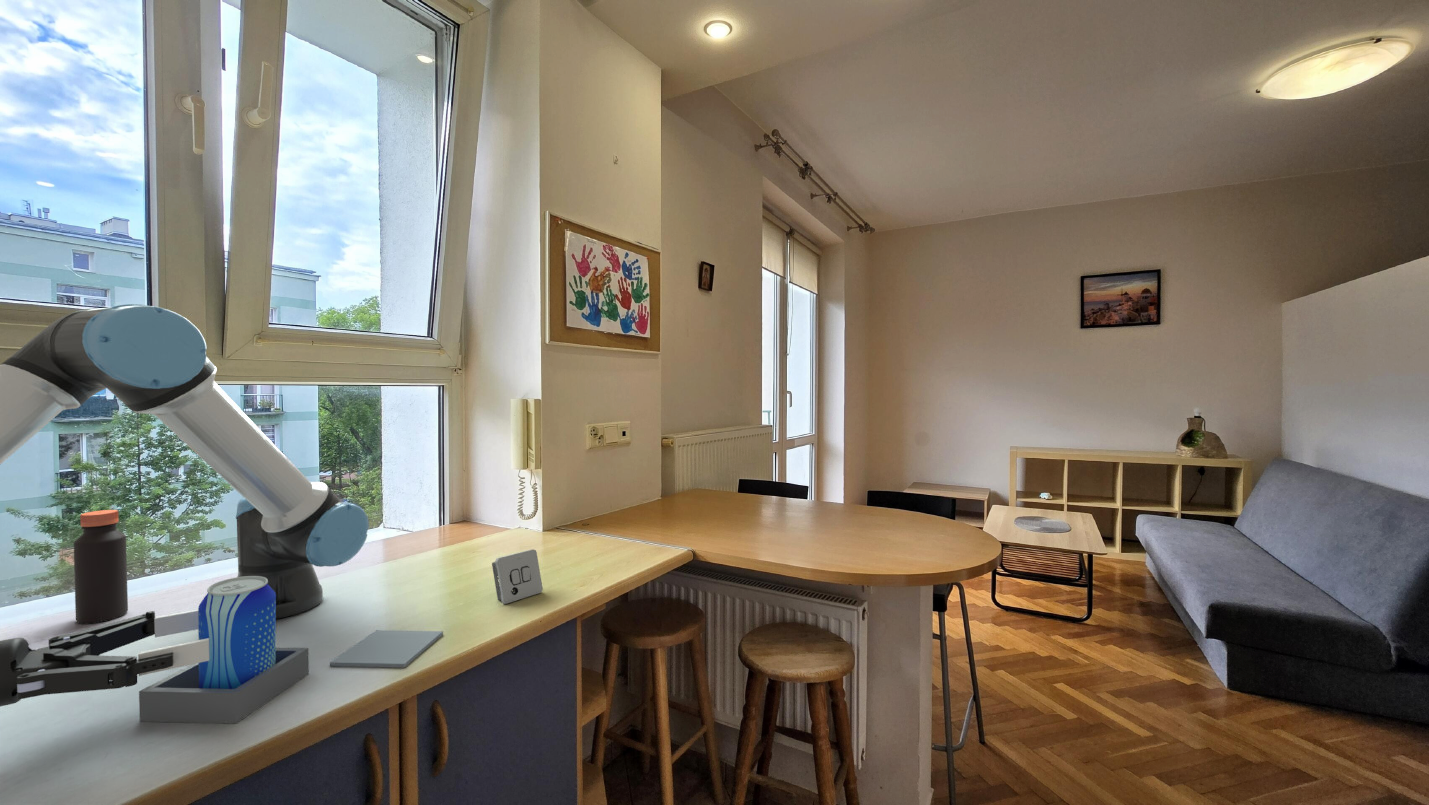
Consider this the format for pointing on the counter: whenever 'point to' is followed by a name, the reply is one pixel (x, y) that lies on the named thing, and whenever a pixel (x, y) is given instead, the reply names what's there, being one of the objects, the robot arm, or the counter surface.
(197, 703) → the grey storage bin
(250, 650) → the beer can
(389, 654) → the coaster mat
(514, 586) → the electrical switch
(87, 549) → the bottle
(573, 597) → the counter surface
